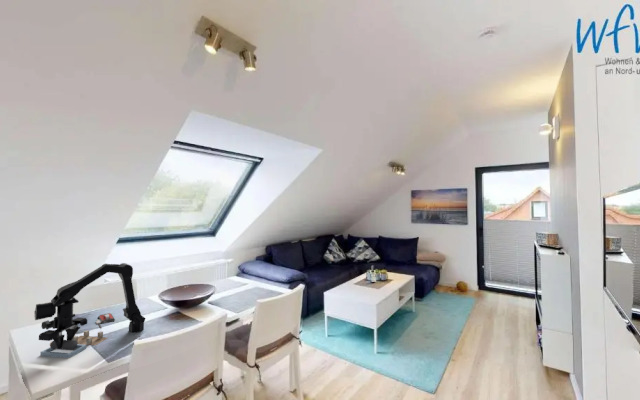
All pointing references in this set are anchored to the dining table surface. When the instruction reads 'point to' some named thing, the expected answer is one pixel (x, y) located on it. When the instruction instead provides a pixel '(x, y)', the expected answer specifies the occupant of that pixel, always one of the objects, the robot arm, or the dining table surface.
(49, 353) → the tray
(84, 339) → the block
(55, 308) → the robot arm
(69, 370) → the dining table surface
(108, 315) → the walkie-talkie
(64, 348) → the tan-capped grey cylinder
